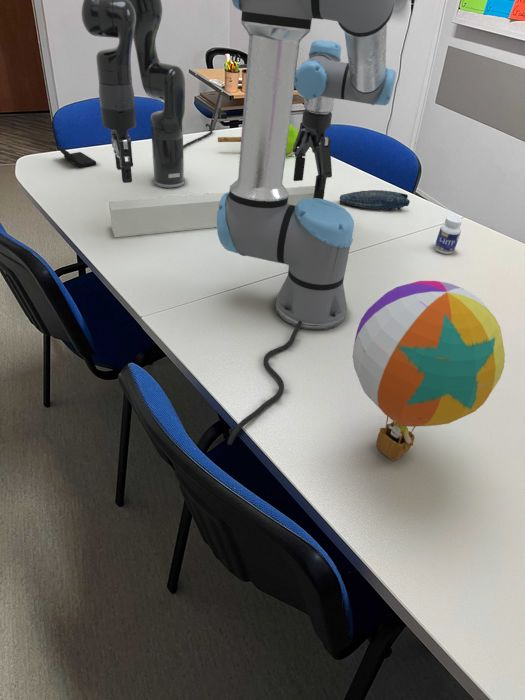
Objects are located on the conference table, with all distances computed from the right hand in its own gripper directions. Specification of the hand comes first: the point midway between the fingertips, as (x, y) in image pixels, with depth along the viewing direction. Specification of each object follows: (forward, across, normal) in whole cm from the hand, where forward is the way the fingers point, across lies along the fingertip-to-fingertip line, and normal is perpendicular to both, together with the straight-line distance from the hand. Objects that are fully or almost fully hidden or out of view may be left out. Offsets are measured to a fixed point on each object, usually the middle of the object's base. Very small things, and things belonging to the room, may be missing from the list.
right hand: (307, 189), depth 148 cm
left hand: (-8, 0, -51) cm, 51 cm away
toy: (+6, +86, -25) cm, 90 cm away
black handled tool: (+7, -53, -59) cm, 79 cm away
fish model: (+8, 0, +23) cm, 25 cm away
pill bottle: (+7, +30, +28) cm, 41 cm away
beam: (+7, 0, -26) cm, 27 cm away
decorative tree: (+8, -51, +5) cm, 52 cm away
